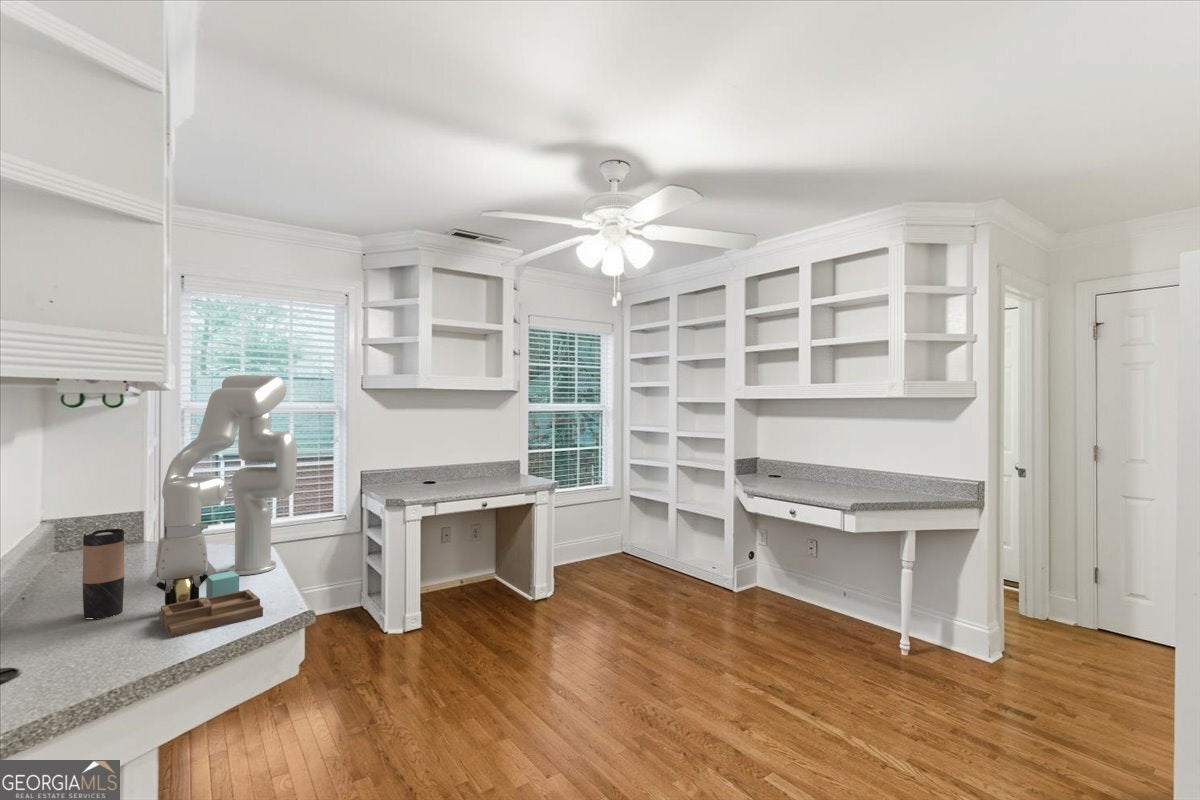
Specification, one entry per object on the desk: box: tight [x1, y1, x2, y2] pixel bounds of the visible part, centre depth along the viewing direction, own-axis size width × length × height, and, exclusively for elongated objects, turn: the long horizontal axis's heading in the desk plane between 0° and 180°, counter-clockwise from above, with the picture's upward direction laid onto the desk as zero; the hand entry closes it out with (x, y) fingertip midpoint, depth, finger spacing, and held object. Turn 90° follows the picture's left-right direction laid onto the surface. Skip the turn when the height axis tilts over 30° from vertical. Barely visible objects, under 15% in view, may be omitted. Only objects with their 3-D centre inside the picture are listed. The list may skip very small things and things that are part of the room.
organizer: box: [158, 589, 264, 638], centre depth 136 cm, size 15×18×4 cm
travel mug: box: [82, 528, 125, 620], centre depth 138 cm, size 8×8×20 cm
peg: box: [172, 576, 193, 603], centre depth 141 cm, size 4×4×8 cm
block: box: [205, 570, 240, 598], centre depth 150 cm, size 6×6×6 cm
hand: (182, 604), depth 141 cm, fingers closed on peg, 4 cm apart
